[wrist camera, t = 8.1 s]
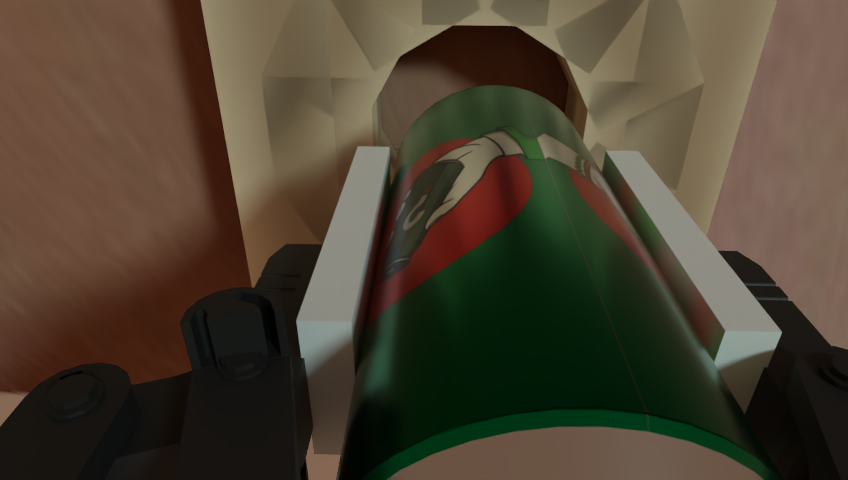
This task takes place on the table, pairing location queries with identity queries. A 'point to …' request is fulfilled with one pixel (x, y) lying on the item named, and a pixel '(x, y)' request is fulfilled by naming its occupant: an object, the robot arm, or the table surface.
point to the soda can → (528, 320)
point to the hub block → (430, 15)
